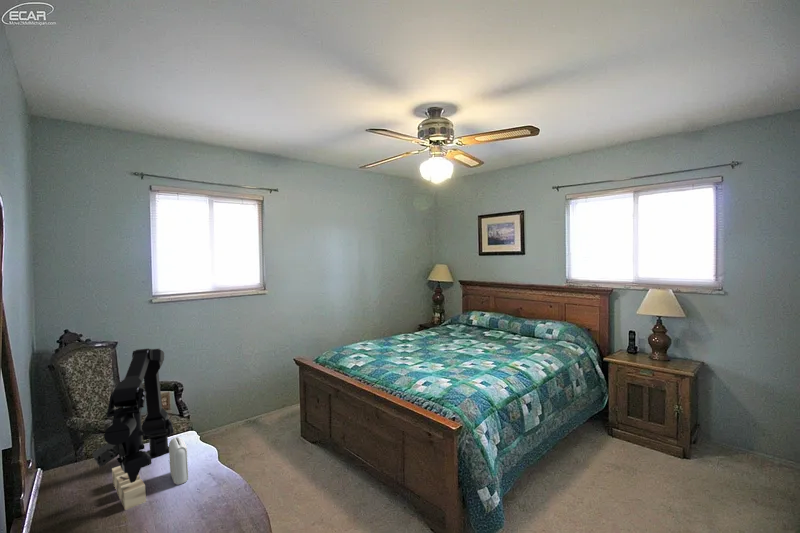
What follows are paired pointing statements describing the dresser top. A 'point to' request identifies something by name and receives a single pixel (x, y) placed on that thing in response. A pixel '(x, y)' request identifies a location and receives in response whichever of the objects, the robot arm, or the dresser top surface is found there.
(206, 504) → the dresser top surface
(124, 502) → the plain block
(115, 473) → the block one
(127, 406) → the robot arm
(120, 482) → the block seven
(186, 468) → the white rounded slab
